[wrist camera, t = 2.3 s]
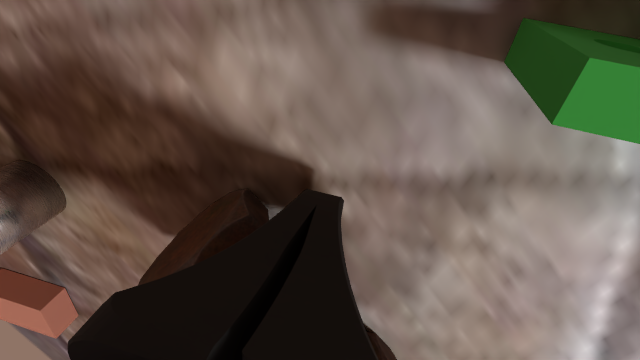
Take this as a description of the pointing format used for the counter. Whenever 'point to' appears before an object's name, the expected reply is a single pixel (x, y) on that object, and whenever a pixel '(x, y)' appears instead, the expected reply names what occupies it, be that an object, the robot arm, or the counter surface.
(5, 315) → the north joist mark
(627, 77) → the pipe clamp
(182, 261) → the bolt
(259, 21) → the counter surface
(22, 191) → the two-tone metal capsule
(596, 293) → the counter surface
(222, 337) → the robot arm
